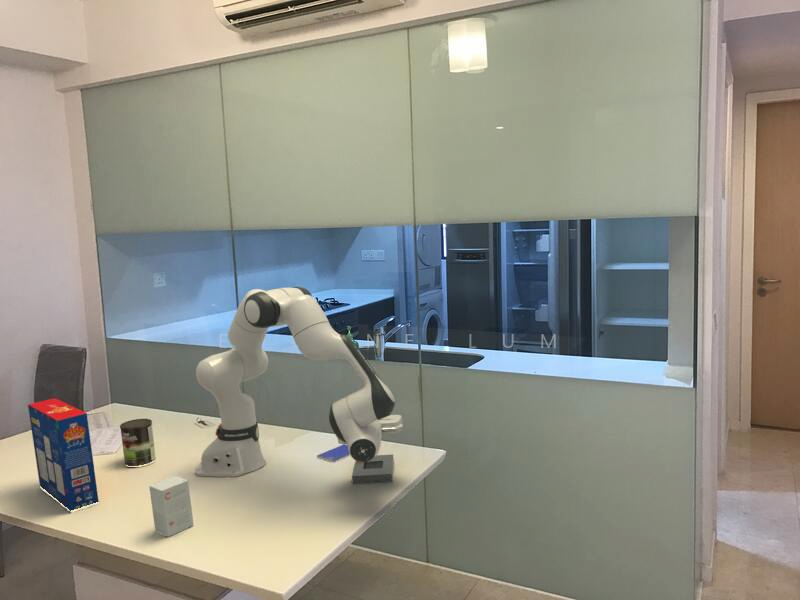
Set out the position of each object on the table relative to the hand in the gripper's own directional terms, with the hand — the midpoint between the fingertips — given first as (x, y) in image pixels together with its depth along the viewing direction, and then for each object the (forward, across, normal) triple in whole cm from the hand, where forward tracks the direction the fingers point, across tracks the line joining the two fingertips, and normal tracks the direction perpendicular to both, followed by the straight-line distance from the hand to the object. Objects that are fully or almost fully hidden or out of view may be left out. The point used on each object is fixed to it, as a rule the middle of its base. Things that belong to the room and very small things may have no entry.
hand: (369, 416), depth 210 cm
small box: (-32, +52, +18) cm, 64 cm away
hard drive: (+17, +13, +18) cm, 28 cm away
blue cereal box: (-6, +94, +18) cm, 96 cm away
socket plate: (-1, 0, +18) cm, 18 cm away
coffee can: (+20, +82, +18) cm, 86 cm away
